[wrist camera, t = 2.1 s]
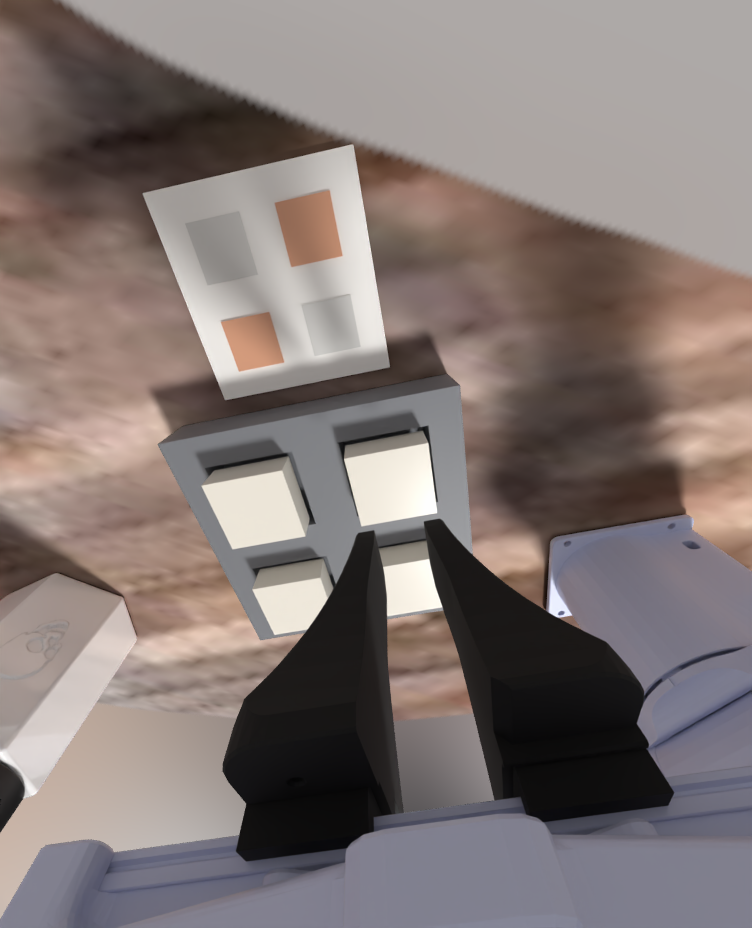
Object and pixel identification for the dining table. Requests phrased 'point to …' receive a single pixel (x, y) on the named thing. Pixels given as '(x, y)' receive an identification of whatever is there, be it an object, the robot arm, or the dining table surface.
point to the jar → (52, 674)
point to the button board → (325, 474)
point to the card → (276, 271)
